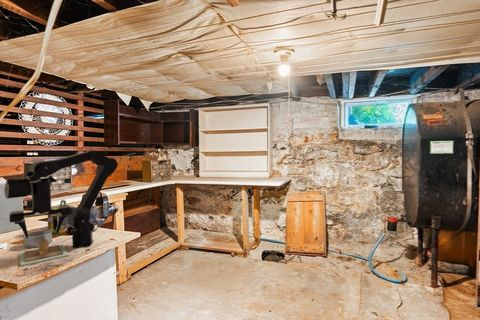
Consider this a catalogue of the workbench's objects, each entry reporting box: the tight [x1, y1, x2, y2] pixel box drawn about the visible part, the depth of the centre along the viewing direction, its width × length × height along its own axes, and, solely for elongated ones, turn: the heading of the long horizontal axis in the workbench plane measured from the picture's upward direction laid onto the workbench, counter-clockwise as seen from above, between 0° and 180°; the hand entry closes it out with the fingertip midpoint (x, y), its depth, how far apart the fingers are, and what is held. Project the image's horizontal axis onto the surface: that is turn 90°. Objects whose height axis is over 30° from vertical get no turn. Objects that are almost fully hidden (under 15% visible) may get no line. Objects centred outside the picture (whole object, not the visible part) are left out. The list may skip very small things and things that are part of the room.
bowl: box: [23, 229, 53, 249], centre depth 115 cm, size 9×9×4 cm
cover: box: [24, 239, 63, 262], centre depth 103 cm, size 11×11×5 cm
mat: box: [19, 243, 69, 268], centre depth 103 cm, size 14×14×1 cm
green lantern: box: [47, 199, 74, 235], centre depth 133 cm, size 9×9×15 cm
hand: (42, 235), depth 102 cm, fingers open, 9 cm apart
